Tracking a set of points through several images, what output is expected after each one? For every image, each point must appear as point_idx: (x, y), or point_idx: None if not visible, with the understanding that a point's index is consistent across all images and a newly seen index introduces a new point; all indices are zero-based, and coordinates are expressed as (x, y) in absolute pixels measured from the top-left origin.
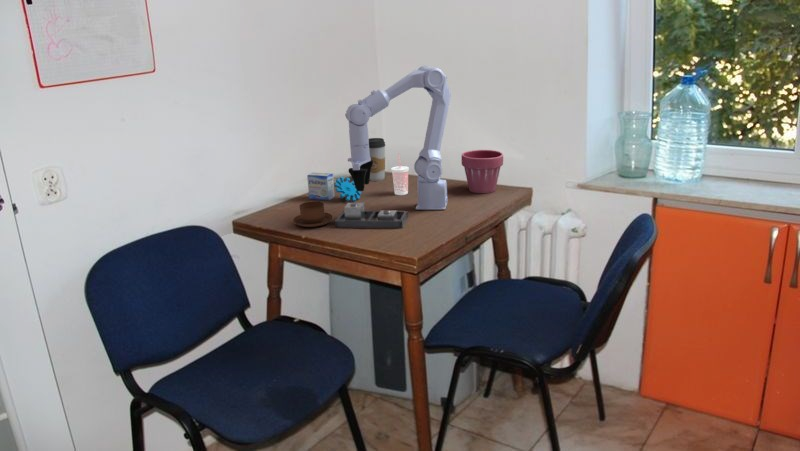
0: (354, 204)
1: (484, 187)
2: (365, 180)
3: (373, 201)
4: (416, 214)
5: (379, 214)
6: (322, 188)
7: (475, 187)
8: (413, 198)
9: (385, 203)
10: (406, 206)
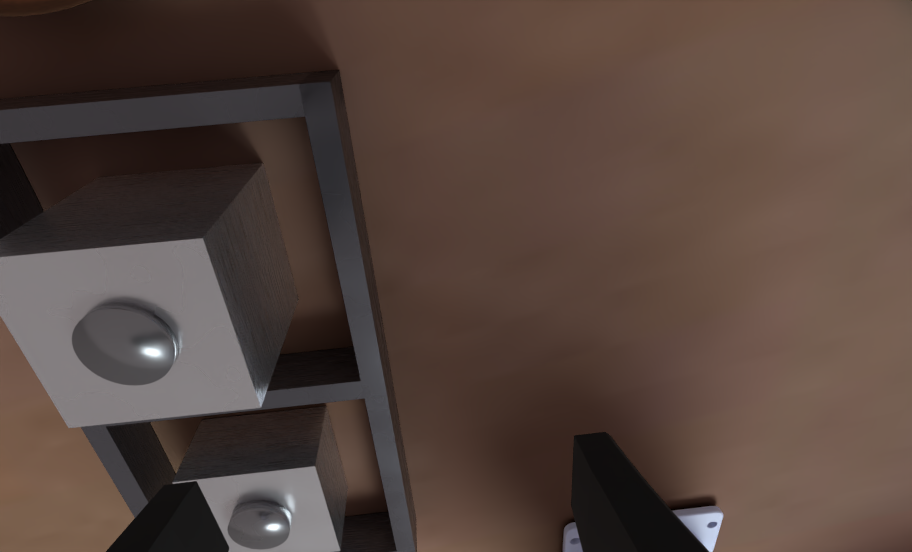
0: (119, 356)
1: None
2: (593, 537)
3: (852, 204)
4: (475, 540)
5: (201, 487)
6: None
7: None
8: (839, 450)
9: (759, 317)
10: (652, 459)
